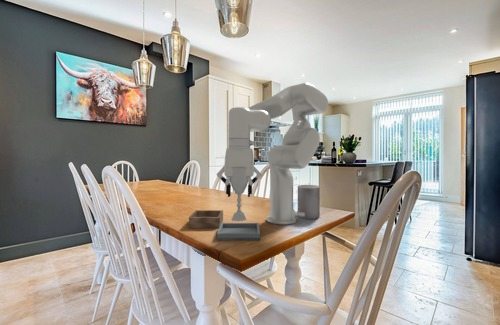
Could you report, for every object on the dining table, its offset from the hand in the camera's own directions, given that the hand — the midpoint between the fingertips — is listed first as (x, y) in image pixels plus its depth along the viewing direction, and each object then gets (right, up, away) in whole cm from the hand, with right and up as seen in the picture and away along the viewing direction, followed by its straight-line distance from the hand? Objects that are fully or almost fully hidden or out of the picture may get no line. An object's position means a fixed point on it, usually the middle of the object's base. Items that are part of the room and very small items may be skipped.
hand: (239, 195), depth 82 cm
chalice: (0, -8, 0) cm, 8 cm away
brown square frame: (-13, -13, +13) cm, 23 cm away
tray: (0, -13, +1) cm, 13 cm away
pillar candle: (+30, -13, +25) cm, 41 cm away
